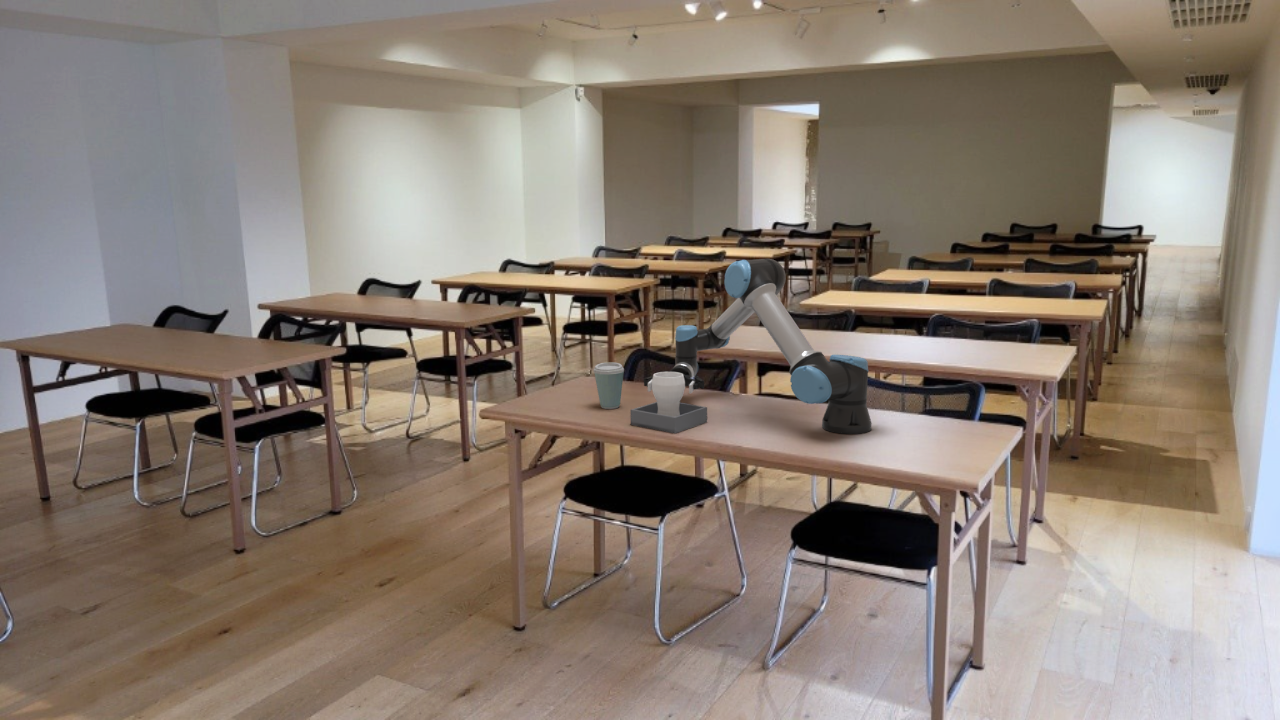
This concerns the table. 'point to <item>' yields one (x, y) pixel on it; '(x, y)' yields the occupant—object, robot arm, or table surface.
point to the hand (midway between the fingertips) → (669, 388)
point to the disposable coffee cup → (609, 384)
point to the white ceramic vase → (668, 392)
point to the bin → (669, 418)
